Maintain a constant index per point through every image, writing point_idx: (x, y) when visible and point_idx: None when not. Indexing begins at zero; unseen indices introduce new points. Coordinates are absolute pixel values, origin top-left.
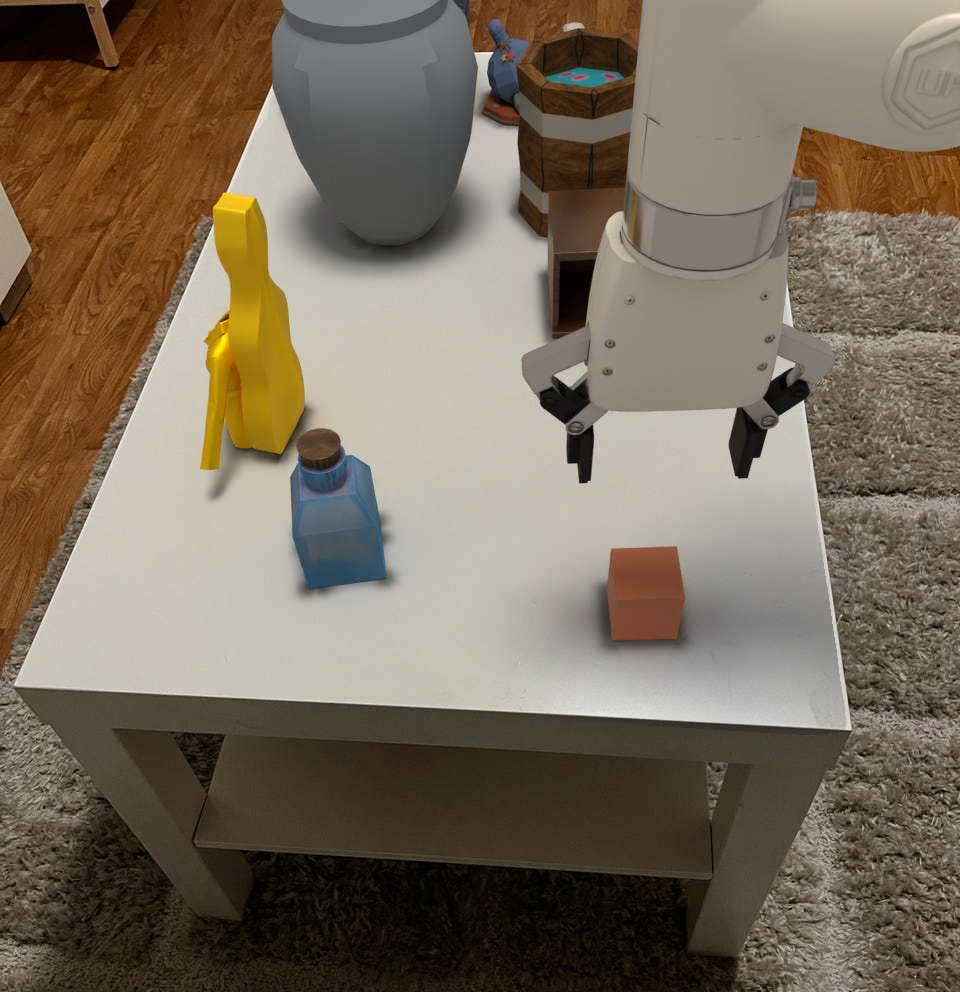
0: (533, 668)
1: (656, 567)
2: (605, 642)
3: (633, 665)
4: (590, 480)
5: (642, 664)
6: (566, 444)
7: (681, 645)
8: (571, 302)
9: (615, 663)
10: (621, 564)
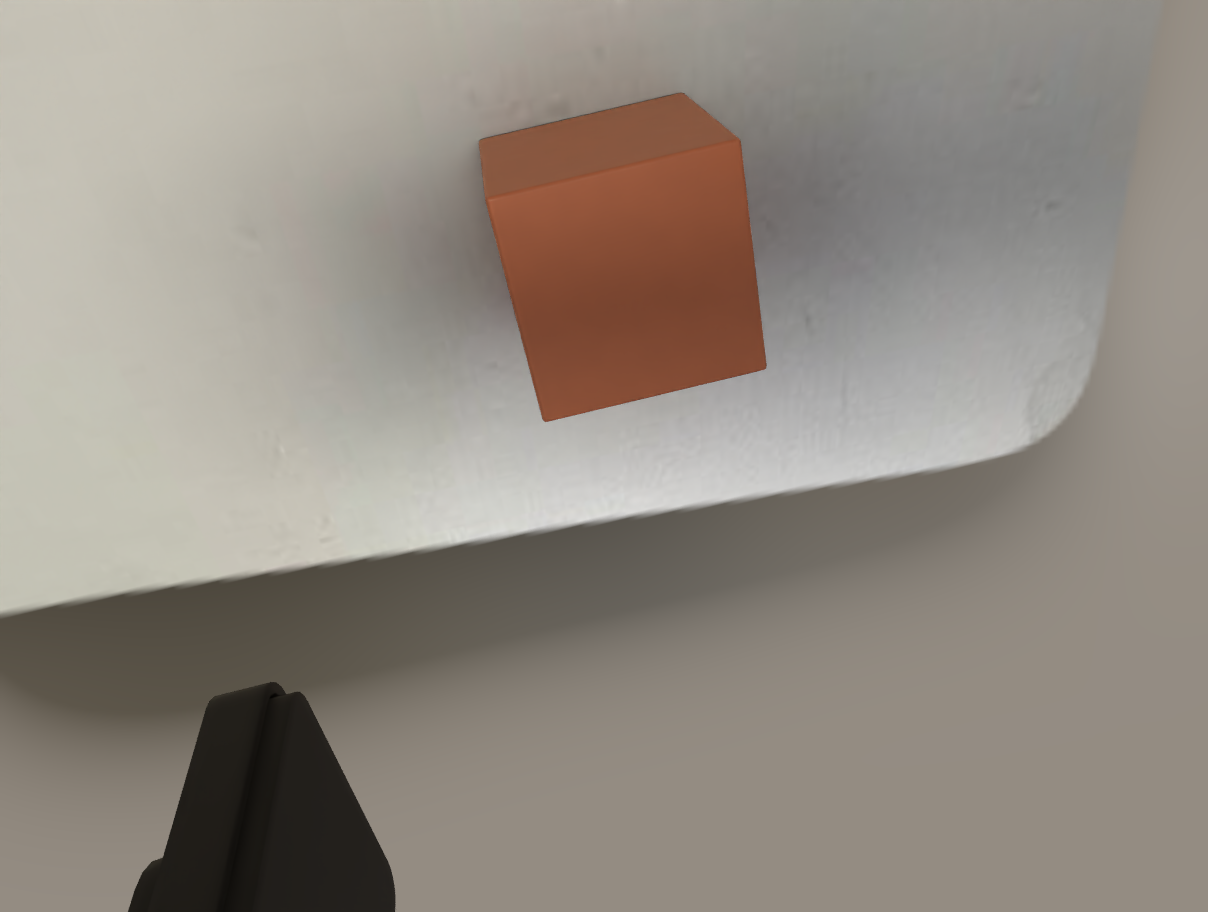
0: (327, 456)
1: (667, 259)
2: (508, 336)
3: None
4: (393, 896)
5: None
6: (141, 884)
7: None
8: None
9: None
10: (537, 269)
